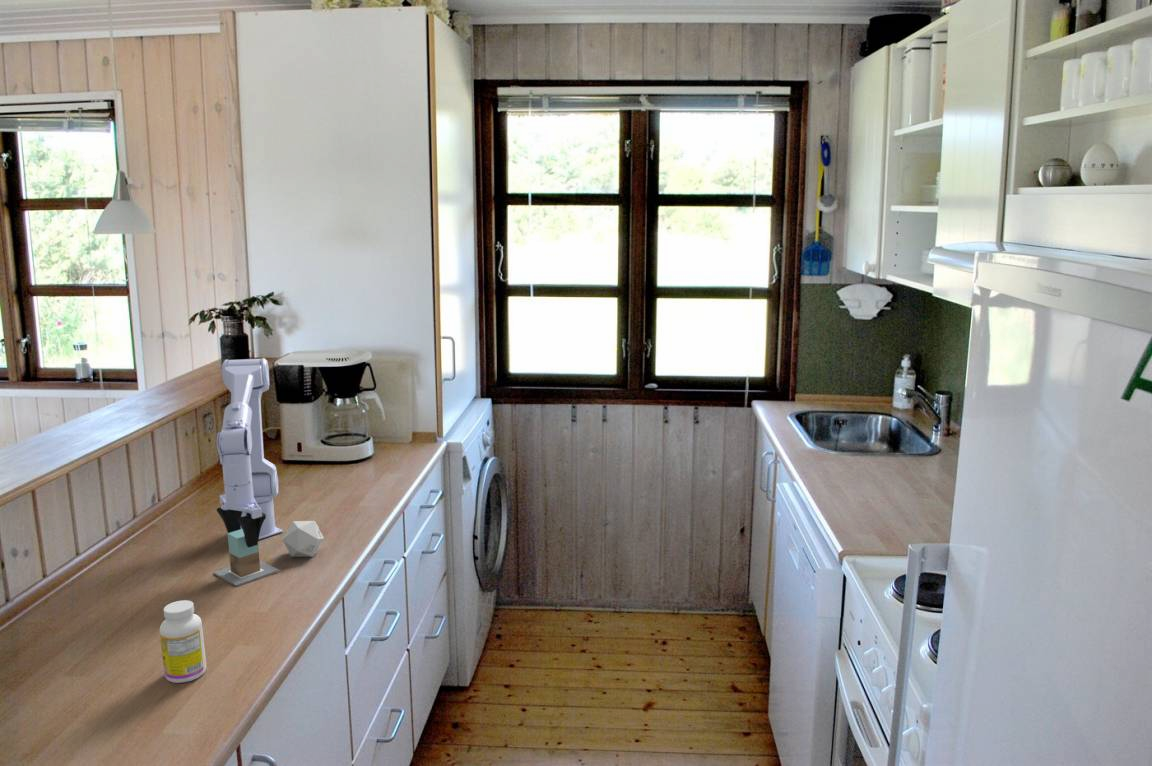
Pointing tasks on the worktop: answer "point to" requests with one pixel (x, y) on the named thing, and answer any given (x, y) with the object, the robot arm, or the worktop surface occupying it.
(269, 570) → the grey square plate
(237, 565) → the walnut block
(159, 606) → the worktop surface
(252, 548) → the teal block
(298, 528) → the die
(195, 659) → the supplement bottle
